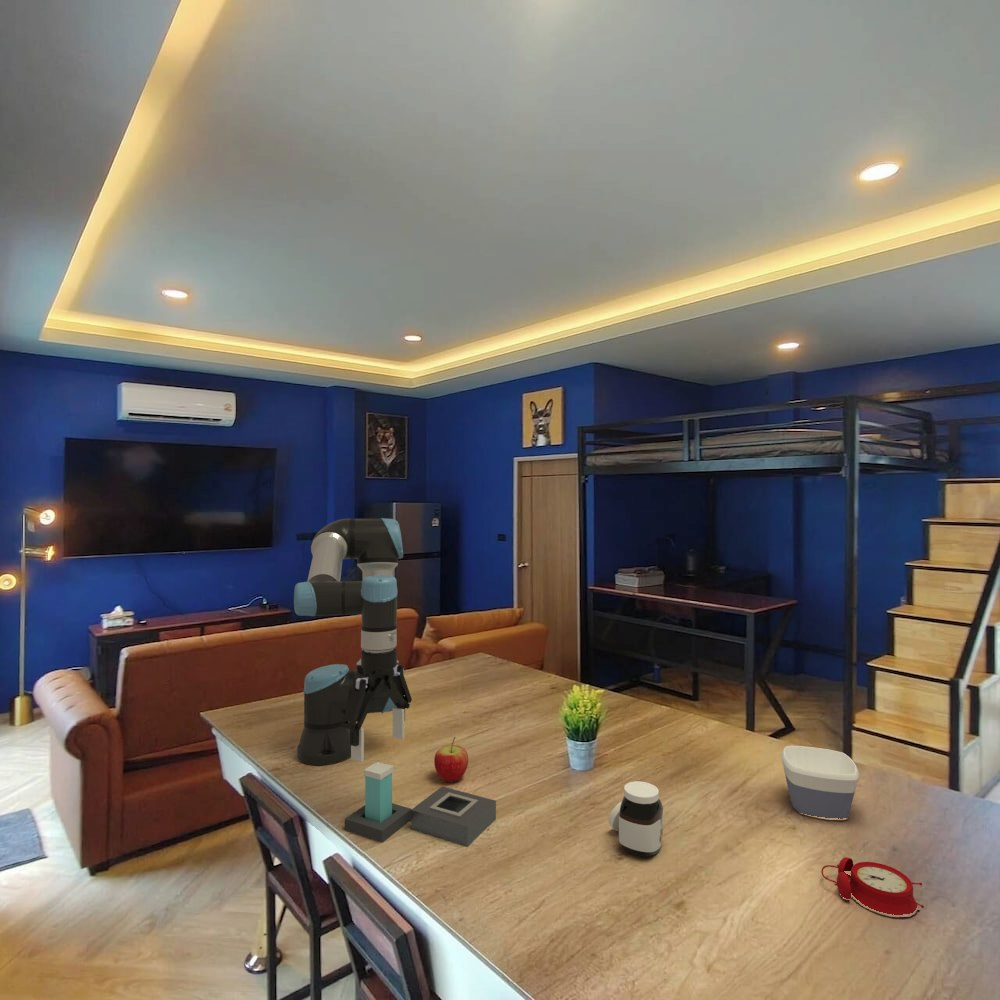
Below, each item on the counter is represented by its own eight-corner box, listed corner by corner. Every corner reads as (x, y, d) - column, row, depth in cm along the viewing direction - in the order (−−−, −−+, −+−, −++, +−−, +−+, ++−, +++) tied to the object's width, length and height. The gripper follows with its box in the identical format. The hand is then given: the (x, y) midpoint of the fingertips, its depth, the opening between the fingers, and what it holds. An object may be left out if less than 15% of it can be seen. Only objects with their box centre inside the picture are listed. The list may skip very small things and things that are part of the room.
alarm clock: (927, 909, 99) (826, 859, 107) (917, 943, 100) (816, 891, 108) (924, 875, 108) (830, 832, 116) (914, 907, 109) (822, 862, 117)
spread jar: (651, 865, 117) (652, 804, 117) (596, 847, 123) (596, 789, 123) (670, 836, 127) (670, 780, 127) (618, 821, 133) (618, 767, 133)
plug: (363, 827, 130) (363, 769, 130) (377, 817, 134) (377, 762, 134) (380, 832, 128) (380, 774, 128) (393, 822, 132) (393, 766, 132)
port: (410, 828, 129) (410, 808, 129) (442, 803, 140) (442, 785, 140) (467, 846, 123) (467, 825, 123) (495, 818, 133) (496, 799, 133)
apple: (473, 775, 154) (474, 735, 154) (457, 789, 147) (457, 748, 147) (445, 769, 158) (445, 730, 158) (428, 783, 150) (428, 742, 150)
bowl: (849, 798, 143) (850, 750, 143) (865, 831, 129) (865, 779, 129) (778, 787, 148) (778, 742, 148) (785, 819, 134) (785, 768, 134)
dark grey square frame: (344, 829, 129) (344, 818, 129) (375, 808, 138) (375, 798, 138) (382, 842, 124) (382, 830, 124) (411, 819, 133) (411, 808, 133)
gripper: (353, 664, 118) (352, 774, 118) (427, 639, 140) (426, 732, 140) (323, 659, 122) (323, 767, 121) (400, 636, 144) (400, 726, 143)
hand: (378, 748), depth 131 cm, fingers open, 13 cm apart
